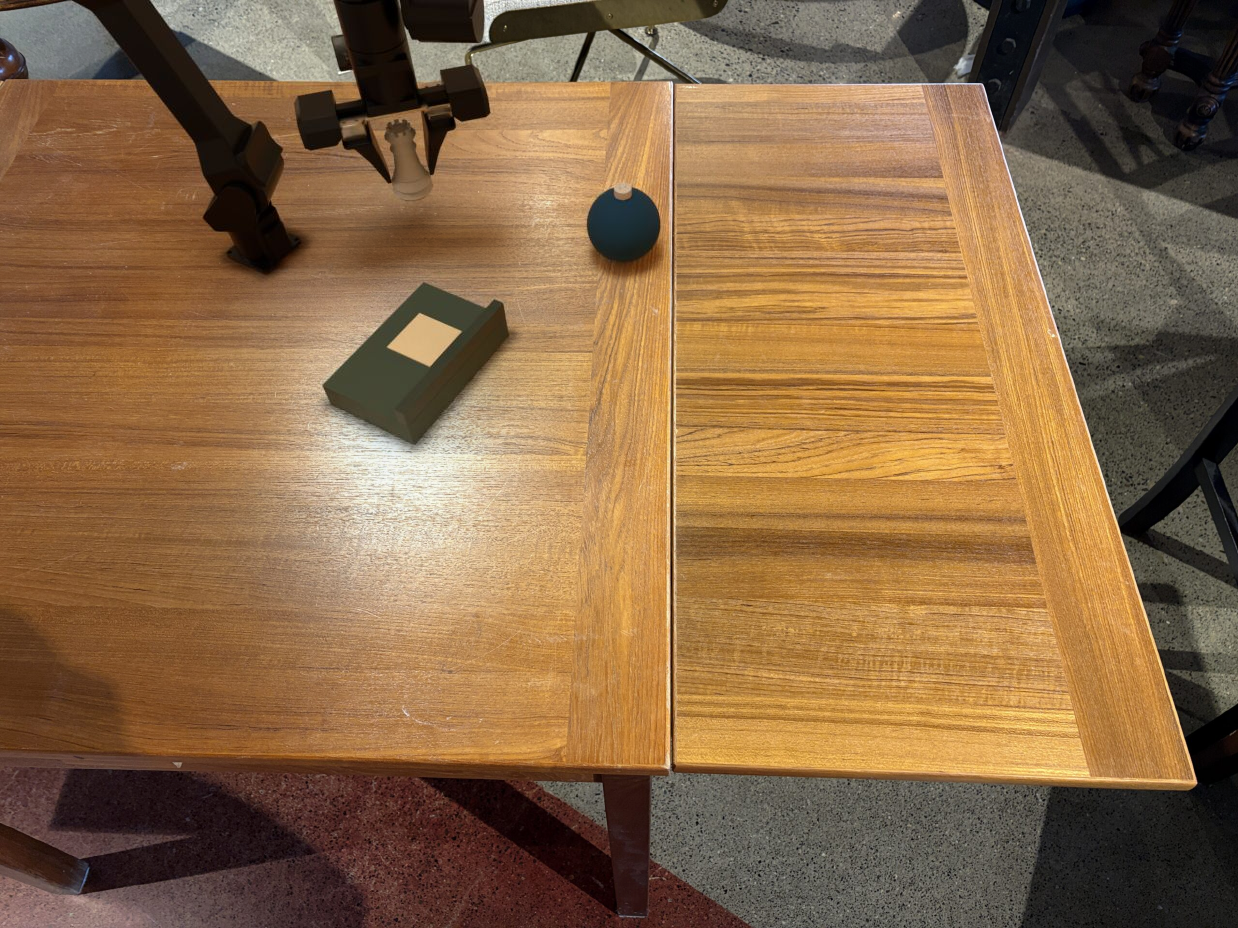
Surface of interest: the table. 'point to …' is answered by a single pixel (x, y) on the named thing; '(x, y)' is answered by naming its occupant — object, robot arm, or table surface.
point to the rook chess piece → (407, 163)
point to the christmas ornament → (623, 223)
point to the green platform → (418, 361)
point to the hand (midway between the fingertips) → (410, 177)
